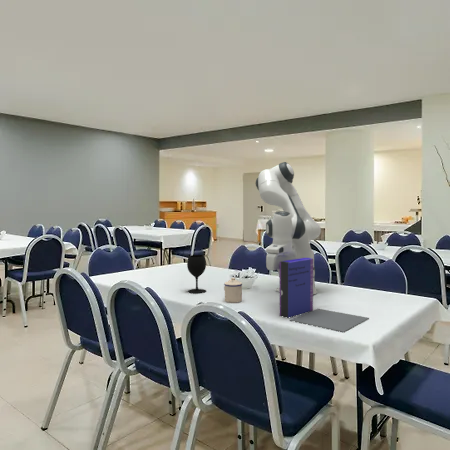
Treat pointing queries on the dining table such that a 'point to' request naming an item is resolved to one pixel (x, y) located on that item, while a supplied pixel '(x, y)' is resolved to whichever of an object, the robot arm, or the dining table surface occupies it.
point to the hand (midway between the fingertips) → (282, 277)
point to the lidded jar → (233, 291)
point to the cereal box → (296, 287)
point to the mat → (330, 319)
